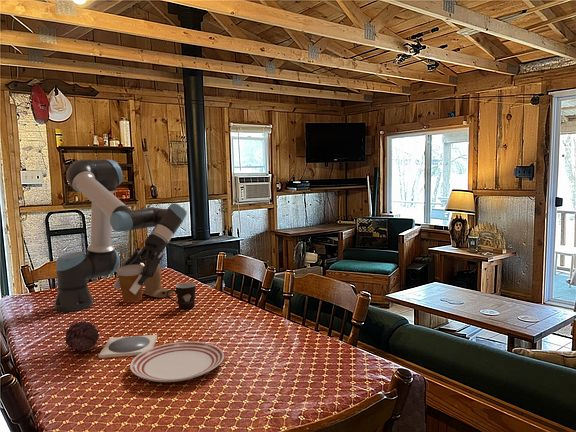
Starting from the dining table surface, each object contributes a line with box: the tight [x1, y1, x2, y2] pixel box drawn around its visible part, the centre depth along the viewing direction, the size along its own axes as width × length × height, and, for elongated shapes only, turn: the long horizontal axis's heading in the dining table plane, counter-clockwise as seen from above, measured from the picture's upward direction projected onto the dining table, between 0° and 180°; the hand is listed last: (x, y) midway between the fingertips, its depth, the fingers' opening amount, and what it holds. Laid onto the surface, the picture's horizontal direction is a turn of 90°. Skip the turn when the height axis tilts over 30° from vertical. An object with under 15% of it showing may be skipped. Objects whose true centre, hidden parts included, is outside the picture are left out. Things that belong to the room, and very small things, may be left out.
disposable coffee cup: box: [116, 264, 144, 303], centre depth 154 cm, size 10×10×12 cm
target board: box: [98, 334, 158, 359], centre depth 145 cm, size 16×14×1 cm
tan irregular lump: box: [142, 264, 175, 299], centre depth 203 cm, size 15×12×15 cm
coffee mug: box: [166, 282, 197, 311], centre depth 185 cm, size 12×9×10 cm
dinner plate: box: [129, 341, 225, 383], centre depth 130 cm, size 28×27×3 cm
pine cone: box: [65, 321, 100, 352], centre depth 142 cm, size 18×10×10 cm, turn 36°
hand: (123, 290), depth 152 cm, fingers closed on disposable coffee cup, 9 cm apart
